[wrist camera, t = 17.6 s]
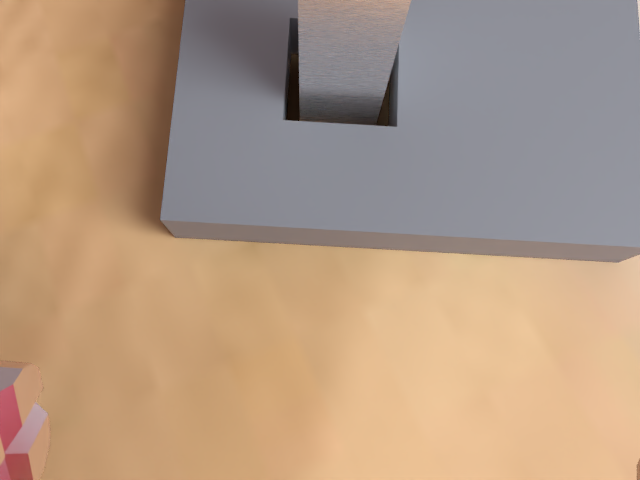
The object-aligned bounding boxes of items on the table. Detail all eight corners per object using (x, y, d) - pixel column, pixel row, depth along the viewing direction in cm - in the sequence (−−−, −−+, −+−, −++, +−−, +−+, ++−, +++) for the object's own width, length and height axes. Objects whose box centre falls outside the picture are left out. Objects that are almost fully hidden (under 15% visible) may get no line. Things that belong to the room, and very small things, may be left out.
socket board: (175, 237, 27) (160, 220, 24) (204, -35, 31) (194, -80, 28) (618, 262, 28) (655, 248, 25) (602, -10, 31) (633, -51, 28)
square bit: (299, 133, 29) (297, -37, 17) (303, 67, 29) (304, -139, 18) (372, 138, 29) (419, -30, 17) (374, 72, 30) (421, -132, 18)
